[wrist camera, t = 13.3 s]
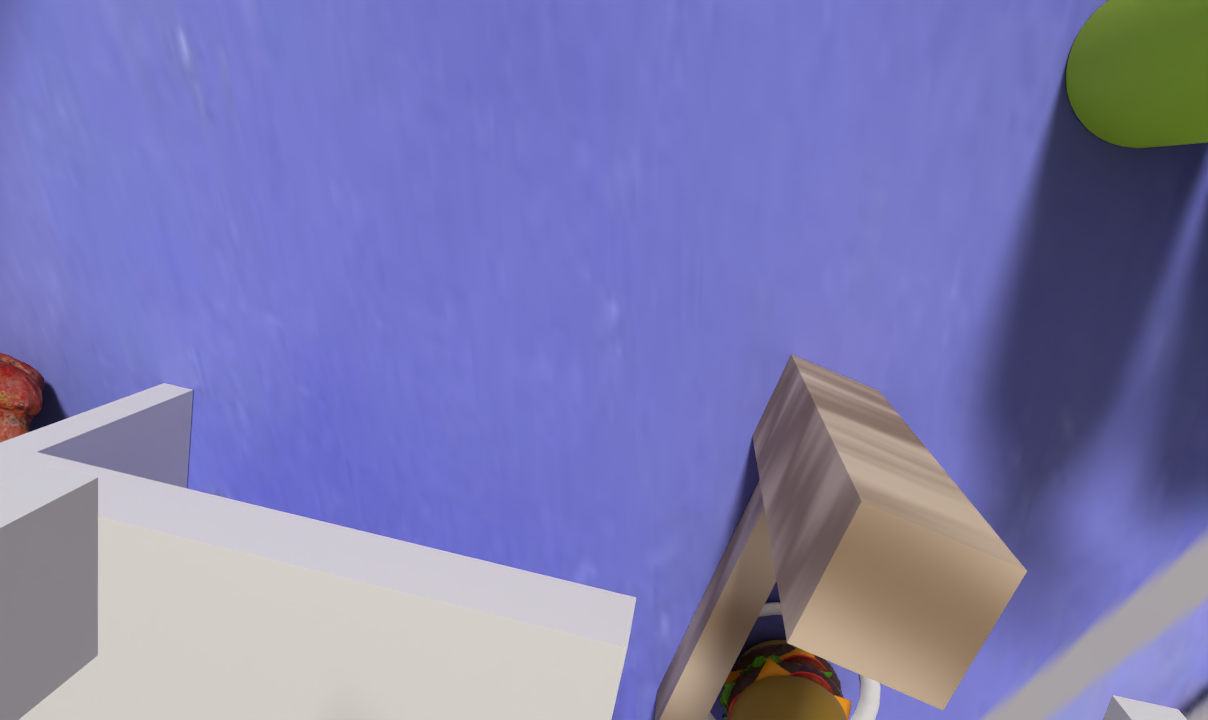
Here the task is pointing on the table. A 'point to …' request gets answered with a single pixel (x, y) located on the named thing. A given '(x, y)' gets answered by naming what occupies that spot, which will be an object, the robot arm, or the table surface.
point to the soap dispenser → (1142, 73)
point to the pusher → (848, 552)
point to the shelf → (301, 603)
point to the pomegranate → (18, 396)
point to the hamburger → (790, 685)
